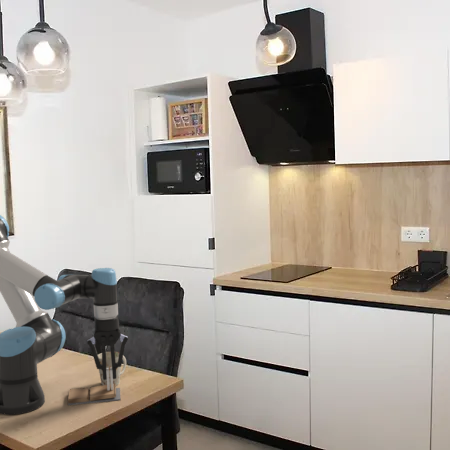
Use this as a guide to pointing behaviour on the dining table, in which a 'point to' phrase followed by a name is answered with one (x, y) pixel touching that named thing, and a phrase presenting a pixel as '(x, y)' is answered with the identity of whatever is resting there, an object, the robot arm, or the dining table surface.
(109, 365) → the mug
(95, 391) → the plank
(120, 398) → the underlay
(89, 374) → the dining table surface
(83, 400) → the laid plank
